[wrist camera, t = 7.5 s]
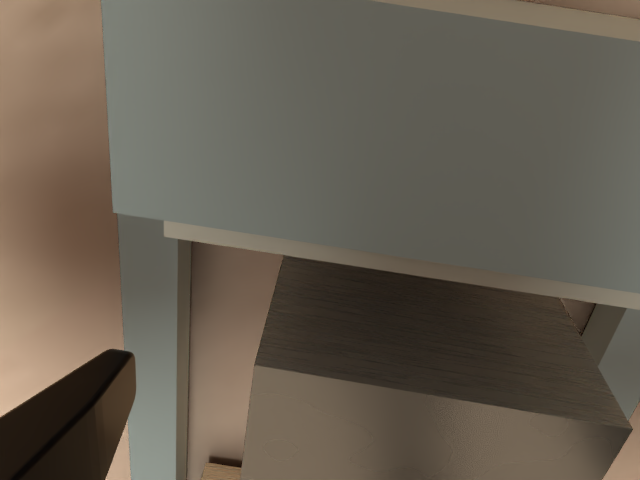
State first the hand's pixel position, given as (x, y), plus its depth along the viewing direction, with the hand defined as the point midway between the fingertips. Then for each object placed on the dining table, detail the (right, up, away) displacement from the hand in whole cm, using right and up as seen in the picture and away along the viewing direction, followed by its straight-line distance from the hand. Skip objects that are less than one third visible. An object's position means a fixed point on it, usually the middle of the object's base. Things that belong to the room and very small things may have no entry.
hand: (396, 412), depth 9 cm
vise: (0, 0, +4) cm, 4 cm away
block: (0, +2, +3) cm, 4 cm away
